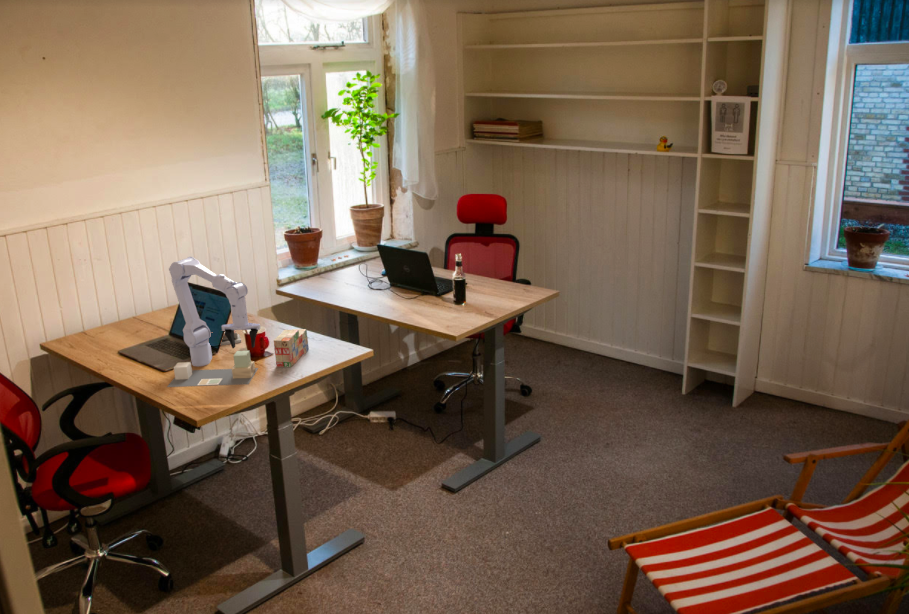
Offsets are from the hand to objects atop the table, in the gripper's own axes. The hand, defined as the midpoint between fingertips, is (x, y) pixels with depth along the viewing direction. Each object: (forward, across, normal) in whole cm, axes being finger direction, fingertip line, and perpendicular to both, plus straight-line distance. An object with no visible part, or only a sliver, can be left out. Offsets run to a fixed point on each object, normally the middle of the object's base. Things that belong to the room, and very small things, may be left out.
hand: (243, 347), depth 305 cm
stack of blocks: (+11, +16, +12) cm, 23 cm away
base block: (+10, 0, -5) cm, 11 cm away
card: (+10, -11, -12) cm, 19 cm away
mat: (+10, -11, -7) cm, 16 cm away
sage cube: (+6, 0, -5) cm, 8 cm away
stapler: (+11, -21, +35) cm, 42 cm away
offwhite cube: (+10, -23, -5) cm, 25 cm away
